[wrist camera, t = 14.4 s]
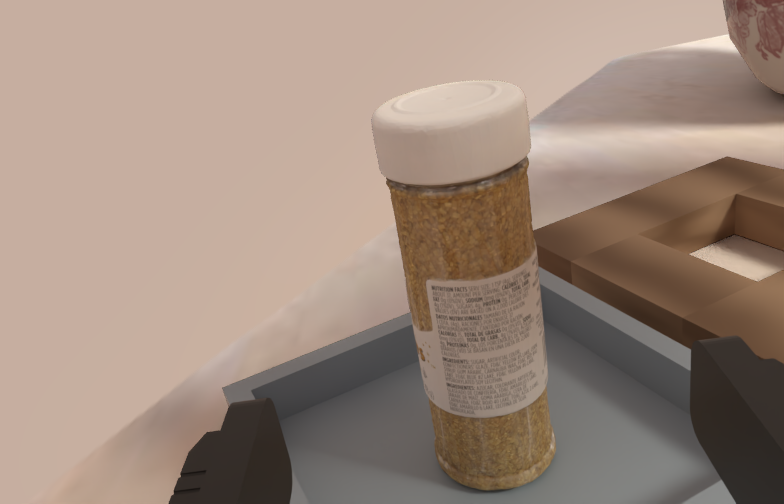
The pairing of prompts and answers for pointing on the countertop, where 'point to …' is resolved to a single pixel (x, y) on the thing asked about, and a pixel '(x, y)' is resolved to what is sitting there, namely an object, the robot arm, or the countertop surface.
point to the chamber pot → (759, 37)
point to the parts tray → (566, 408)
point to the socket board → (680, 254)
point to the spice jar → (471, 274)
